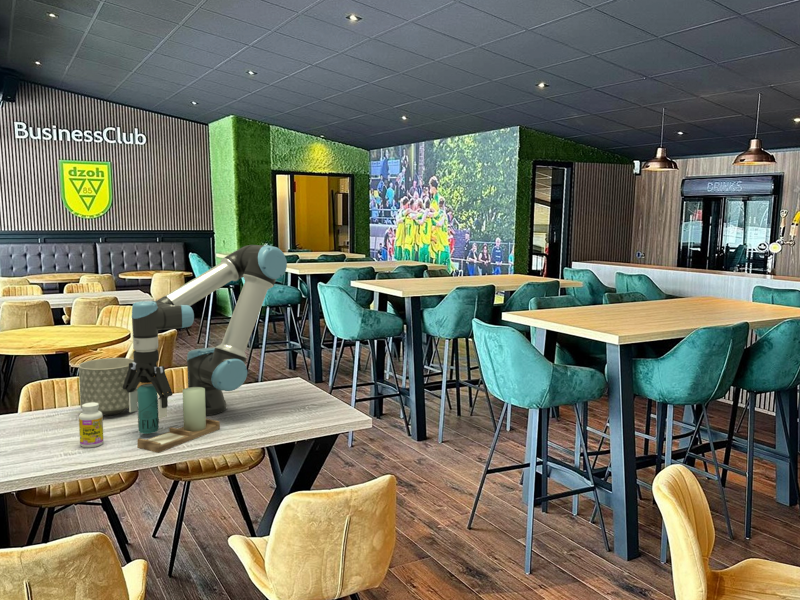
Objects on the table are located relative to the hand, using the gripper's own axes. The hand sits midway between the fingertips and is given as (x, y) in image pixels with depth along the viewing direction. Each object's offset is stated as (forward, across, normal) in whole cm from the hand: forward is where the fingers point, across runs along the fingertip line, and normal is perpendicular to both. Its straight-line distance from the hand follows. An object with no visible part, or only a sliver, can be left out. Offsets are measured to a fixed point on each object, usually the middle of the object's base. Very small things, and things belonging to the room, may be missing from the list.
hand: (147, 414), depth 211 cm
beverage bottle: (+7, 0, 0) cm, 7 cm away
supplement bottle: (+7, -8, -15) cm, 18 cm away
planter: (+7, -33, +11) cm, 36 cm away
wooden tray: (+7, +11, +3) cm, 13 cm away
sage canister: (+5, +11, +9) cm, 15 cm away
